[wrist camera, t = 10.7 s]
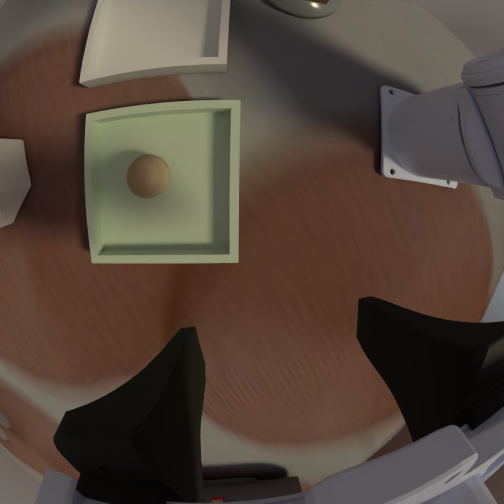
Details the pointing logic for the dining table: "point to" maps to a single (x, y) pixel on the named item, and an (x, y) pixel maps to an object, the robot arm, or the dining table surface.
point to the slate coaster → (305, 8)
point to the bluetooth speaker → (248, 489)
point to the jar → (12, 179)
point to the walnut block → (319, 1)
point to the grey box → (155, 39)
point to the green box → (179, 187)
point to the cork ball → (148, 176)
